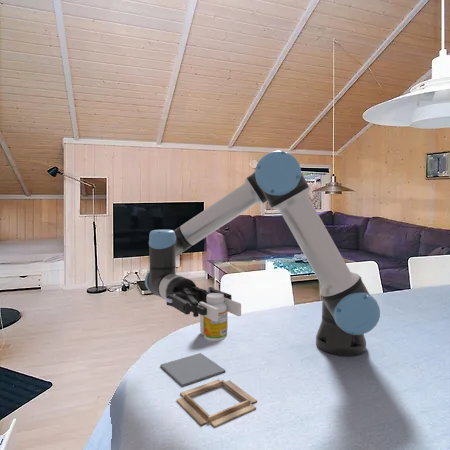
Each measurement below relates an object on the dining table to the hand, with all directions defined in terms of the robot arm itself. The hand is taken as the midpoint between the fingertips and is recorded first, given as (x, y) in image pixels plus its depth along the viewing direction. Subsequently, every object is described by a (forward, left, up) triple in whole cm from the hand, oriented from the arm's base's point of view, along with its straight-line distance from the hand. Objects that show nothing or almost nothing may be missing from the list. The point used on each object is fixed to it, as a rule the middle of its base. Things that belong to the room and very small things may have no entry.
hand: (228, 312), depth 75 cm
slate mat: (+17, -13, -22) cm, 31 cm away
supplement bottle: (+5, -3, -7) cm, 9 cm away
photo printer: (+24, -40, -22) cm, 52 cm away
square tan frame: (+4, -2, -22) cm, 22 cm away
